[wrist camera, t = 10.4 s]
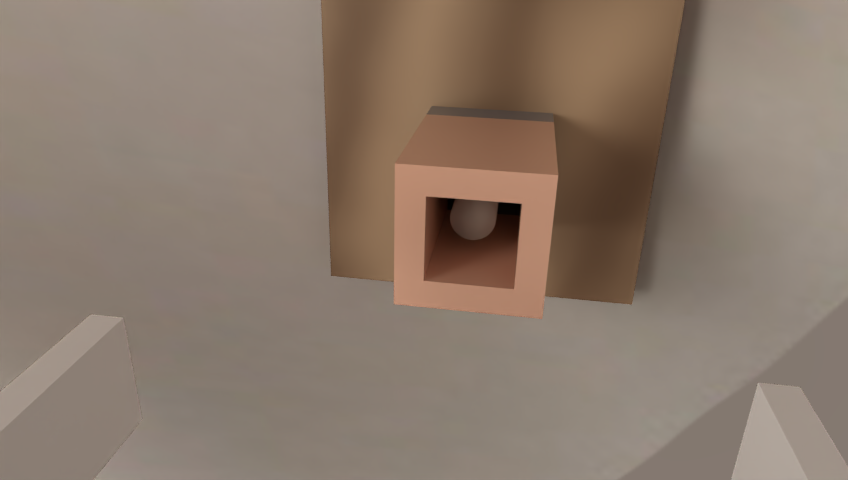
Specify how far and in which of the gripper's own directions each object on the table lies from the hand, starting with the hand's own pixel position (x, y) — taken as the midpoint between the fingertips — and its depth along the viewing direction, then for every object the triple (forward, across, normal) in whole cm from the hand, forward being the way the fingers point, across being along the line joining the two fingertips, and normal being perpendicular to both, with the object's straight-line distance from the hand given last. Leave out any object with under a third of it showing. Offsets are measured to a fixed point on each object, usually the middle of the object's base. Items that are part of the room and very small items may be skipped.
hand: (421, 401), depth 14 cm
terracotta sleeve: (+16, 0, 0) cm, 16 cm away
